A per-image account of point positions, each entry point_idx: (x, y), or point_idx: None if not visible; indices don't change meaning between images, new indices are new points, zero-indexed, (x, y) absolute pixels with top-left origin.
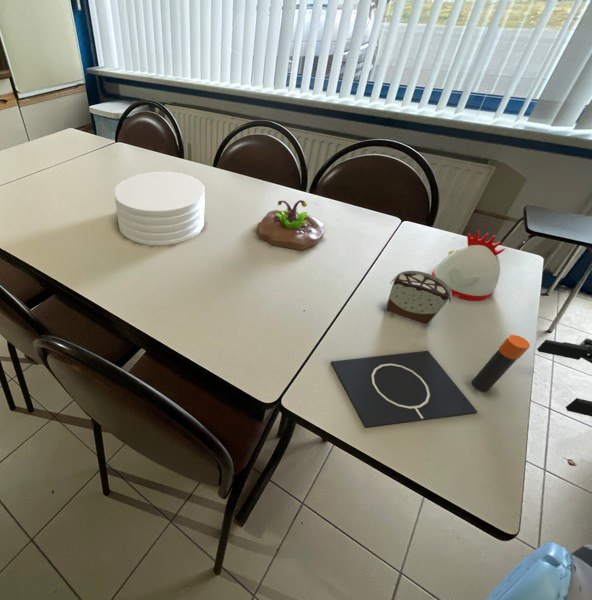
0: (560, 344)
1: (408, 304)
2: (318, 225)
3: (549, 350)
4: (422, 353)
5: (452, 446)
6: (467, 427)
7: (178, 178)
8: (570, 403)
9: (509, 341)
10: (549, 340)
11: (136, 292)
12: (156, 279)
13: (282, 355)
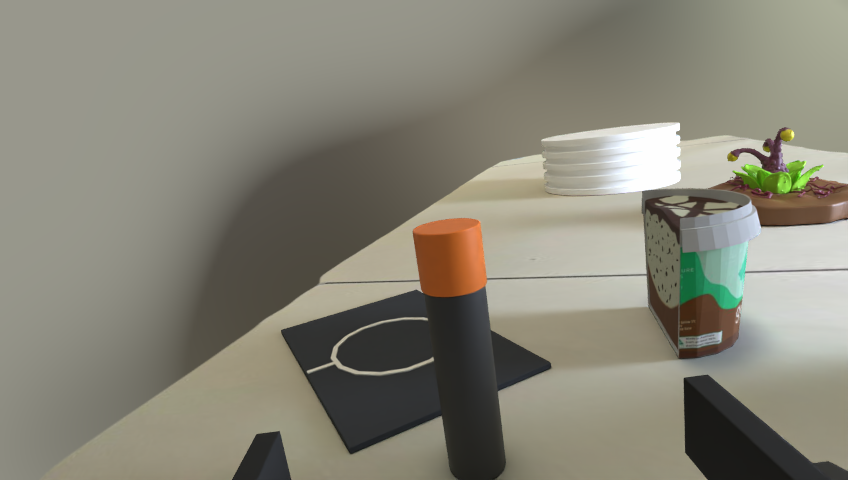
0: (730, 416)
1: (659, 275)
2: (841, 195)
3: (712, 459)
4: (528, 356)
5: (239, 417)
6: (296, 438)
7: (656, 125)
8: (287, 472)
9: (435, 221)
10: (716, 384)
11: (455, 211)
12: (488, 209)
13: (408, 269)
